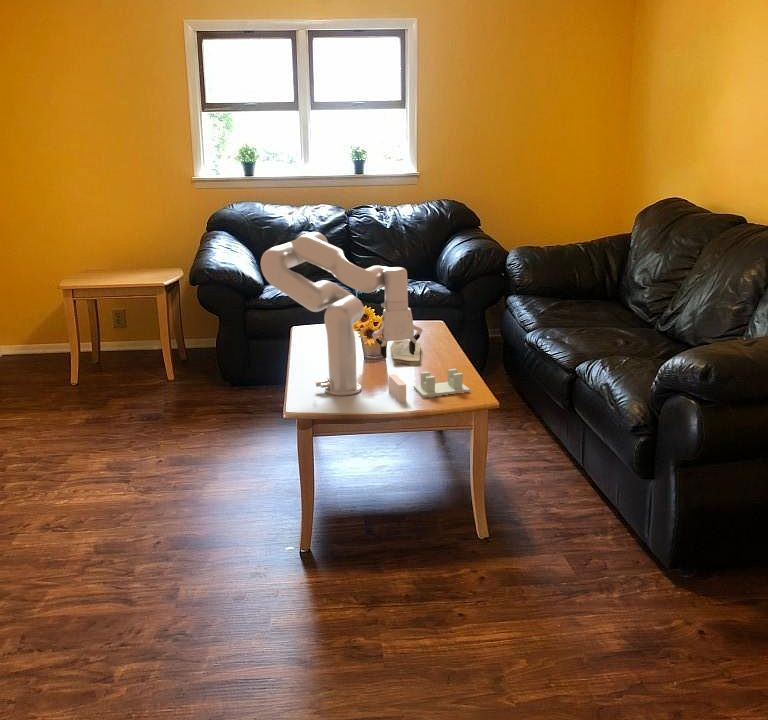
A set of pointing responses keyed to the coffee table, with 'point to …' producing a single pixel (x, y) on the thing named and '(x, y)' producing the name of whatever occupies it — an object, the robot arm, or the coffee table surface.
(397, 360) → the stone slab
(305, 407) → the coffee table surface
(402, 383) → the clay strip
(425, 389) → the grey mounting plate
